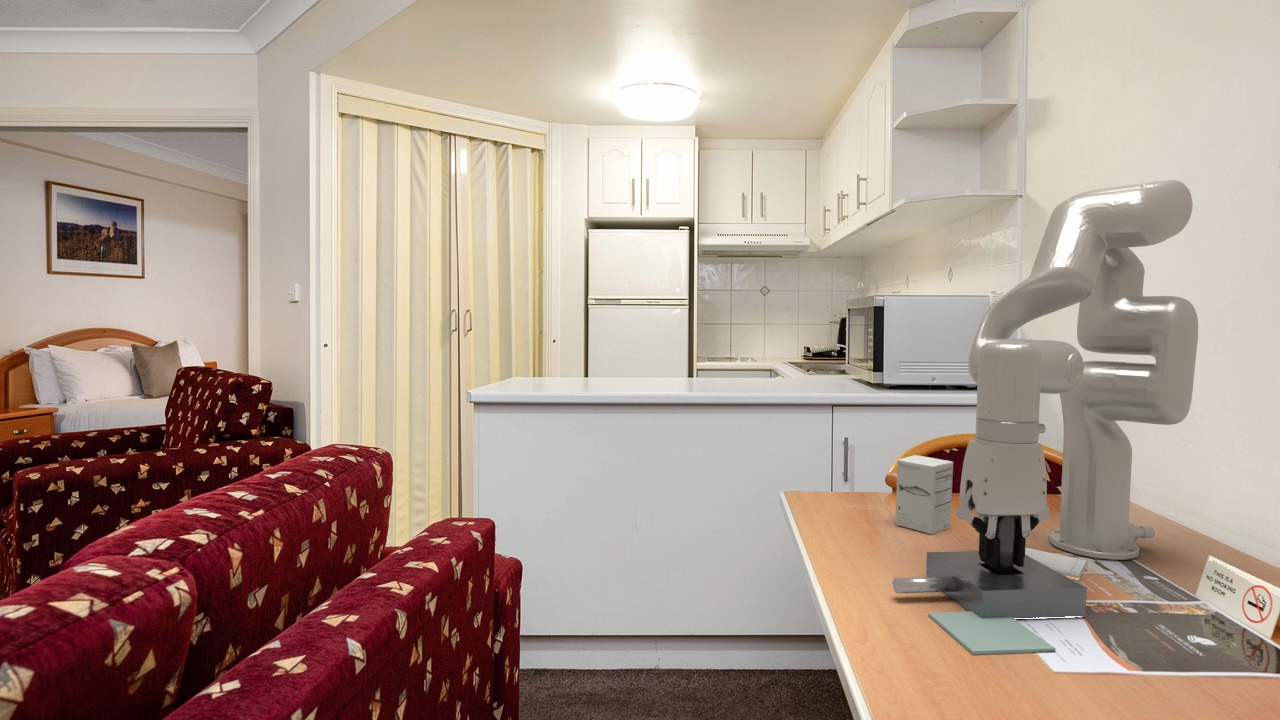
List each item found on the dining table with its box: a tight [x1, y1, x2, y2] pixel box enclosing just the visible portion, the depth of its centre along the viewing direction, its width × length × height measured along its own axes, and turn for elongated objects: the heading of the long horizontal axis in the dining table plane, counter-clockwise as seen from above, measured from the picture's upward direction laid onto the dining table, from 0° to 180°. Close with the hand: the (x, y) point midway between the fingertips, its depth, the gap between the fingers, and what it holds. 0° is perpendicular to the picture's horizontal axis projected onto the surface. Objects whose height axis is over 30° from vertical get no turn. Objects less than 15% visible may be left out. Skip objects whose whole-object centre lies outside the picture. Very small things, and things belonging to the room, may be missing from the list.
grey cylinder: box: [989, 516, 1016, 575], centre depth 91 cm, size 3×3×13 cm
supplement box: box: [894, 454, 954, 535], centre depth 122 cm, size 7×7×13 cm
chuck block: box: [892, 550, 1088, 619], centre depth 91 cm, size 22×14×4 cm, turn 94°
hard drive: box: [1025, 547, 1089, 578], centre depth 104 cm, size 2×8×12 cm
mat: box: [928, 611, 1056, 656], centre depth 81 cm, size 10×10×1 cm
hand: (1001, 562), depth 91 cm, fingers closed on grey cylinder, 3 cm apart
